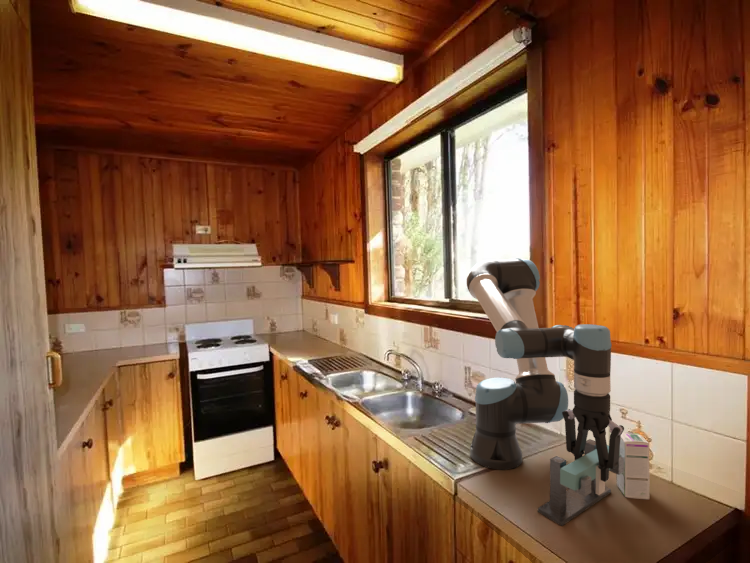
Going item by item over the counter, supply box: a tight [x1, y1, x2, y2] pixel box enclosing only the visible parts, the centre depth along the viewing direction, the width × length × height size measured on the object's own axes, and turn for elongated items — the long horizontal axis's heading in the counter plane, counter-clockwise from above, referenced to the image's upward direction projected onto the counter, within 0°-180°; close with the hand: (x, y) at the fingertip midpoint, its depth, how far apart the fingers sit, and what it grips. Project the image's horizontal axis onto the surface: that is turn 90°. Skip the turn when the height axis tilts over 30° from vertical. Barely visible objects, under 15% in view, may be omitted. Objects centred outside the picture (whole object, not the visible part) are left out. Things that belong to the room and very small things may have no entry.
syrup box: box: [615, 431, 651, 500], centre depth 99 cm, size 6×6×14 cm
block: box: [560, 444, 620, 491], centre depth 93 cm, size 4×20×4 cm, turn 123°
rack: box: [537, 438, 624, 527], centre depth 94 cm, size 10×22×13 cm, turn 123°
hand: (591, 487), depth 93 cm, fingers closed on block, 3 cm apart
